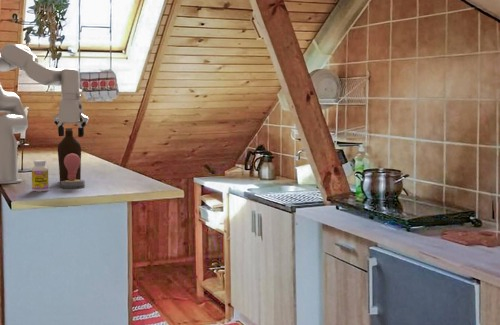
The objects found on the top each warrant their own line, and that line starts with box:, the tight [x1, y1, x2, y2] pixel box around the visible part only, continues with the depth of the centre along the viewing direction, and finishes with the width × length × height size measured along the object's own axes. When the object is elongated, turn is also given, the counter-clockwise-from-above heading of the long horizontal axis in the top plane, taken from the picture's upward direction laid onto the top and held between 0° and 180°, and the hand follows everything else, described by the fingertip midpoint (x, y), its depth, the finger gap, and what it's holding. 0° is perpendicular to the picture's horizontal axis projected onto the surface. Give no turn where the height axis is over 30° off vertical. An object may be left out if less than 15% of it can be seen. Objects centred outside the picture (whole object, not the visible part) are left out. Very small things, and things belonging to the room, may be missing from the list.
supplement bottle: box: [31, 159, 49, 193], centre depth 273 cm, size 7×7×13 cm
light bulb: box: [64, 153, 82, 180], centre depth 285 cm, size 7×7×12 cm
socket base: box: [60, 179, 86, 189], centre depth 285 cm, size 10×10×3 cm
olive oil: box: [57, 127, 82, 183], centre depth 301 cm, size 11×11×25 cm
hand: (71, 136), depth 283 cm, fingers open, 9 cm apart
